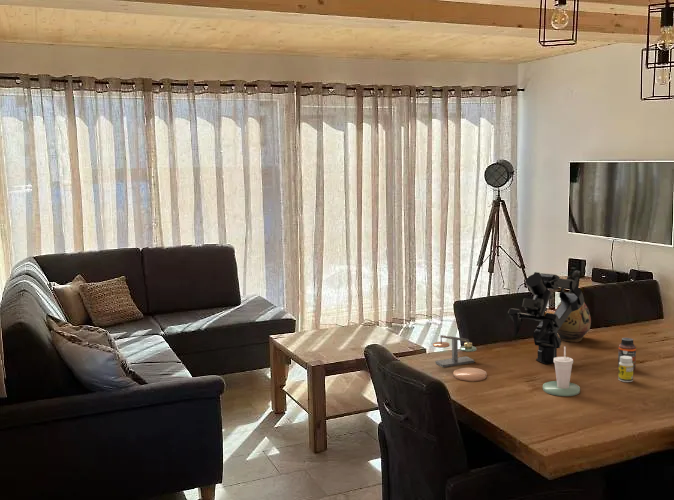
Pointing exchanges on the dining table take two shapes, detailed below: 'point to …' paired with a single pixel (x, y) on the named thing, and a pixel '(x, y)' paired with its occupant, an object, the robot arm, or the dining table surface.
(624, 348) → the supplement bottle
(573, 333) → the ceramic jug
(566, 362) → the smoothie
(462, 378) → the terracotta dish
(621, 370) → the supplement bottle
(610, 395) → the dining table surface
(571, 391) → the green dish
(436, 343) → the balance
